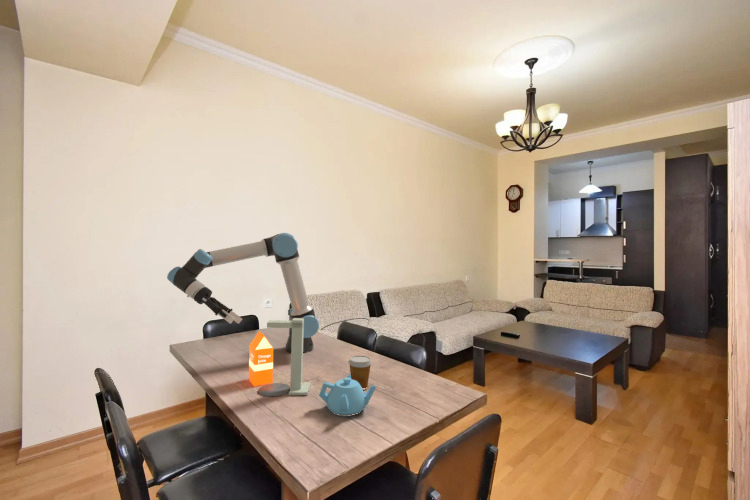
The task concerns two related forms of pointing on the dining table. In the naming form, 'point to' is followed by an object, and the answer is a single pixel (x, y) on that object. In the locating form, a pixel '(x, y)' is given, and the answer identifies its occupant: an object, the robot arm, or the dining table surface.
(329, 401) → the teapot
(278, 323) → the stand
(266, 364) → the orange juice
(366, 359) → the disposable coffee cup
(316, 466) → the dining table surface
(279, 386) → the seat pad
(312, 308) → the robot arm
